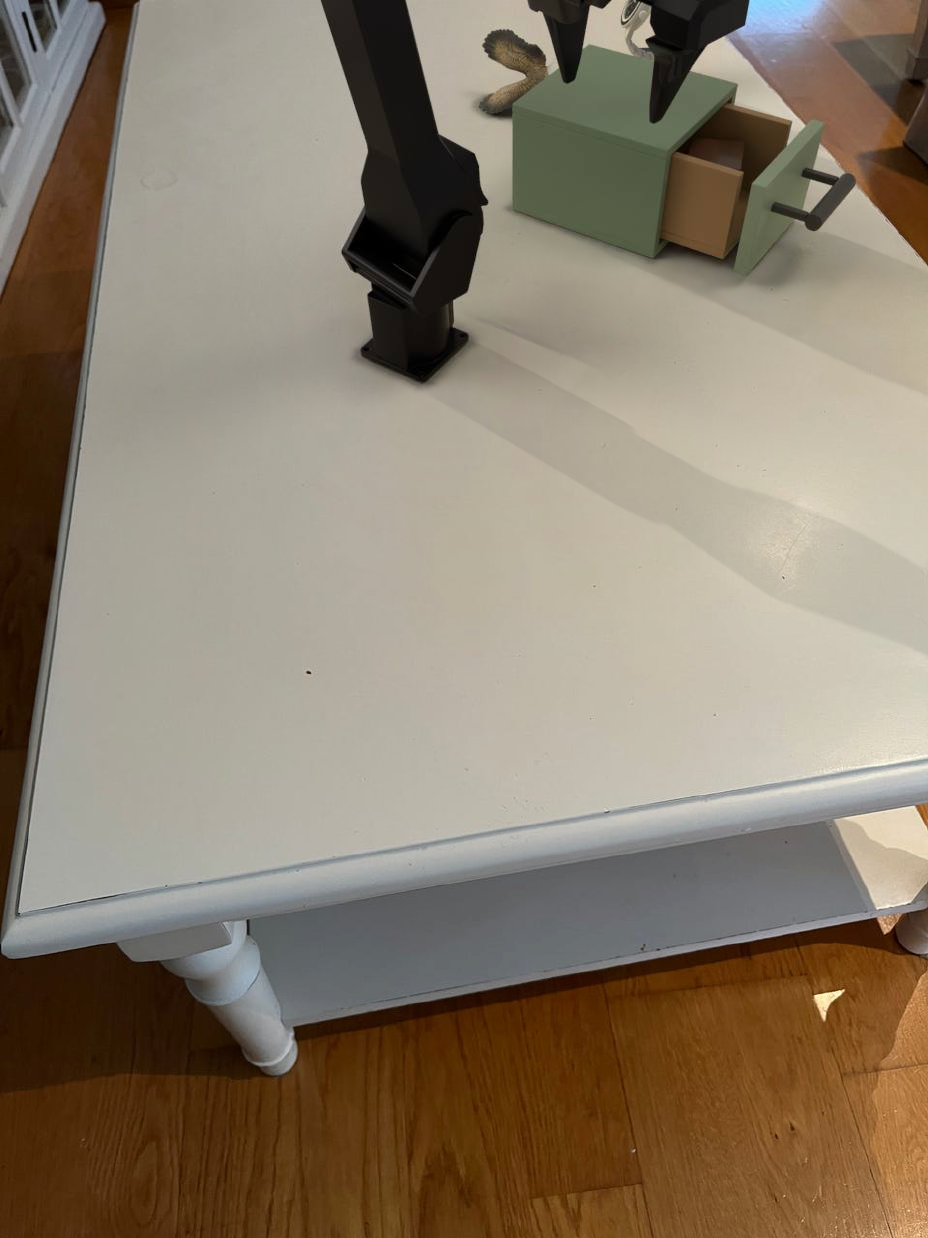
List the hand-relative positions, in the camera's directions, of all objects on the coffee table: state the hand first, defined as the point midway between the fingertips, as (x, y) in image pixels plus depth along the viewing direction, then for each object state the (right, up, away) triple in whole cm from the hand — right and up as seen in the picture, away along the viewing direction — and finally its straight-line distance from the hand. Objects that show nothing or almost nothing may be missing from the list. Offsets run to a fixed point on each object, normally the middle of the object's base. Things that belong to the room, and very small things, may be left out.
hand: (611, 100), depth 76 cm
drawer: (+11, -6, +8) cm, 16 cm away
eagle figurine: (-5, +13, +25) cm, 28 cm away
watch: (+8, +14, +25) cm, 30 cm away
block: (+12, -3, +7) cm, 14 cm away
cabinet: (+2, -2, +13) cm, 13 cm away
